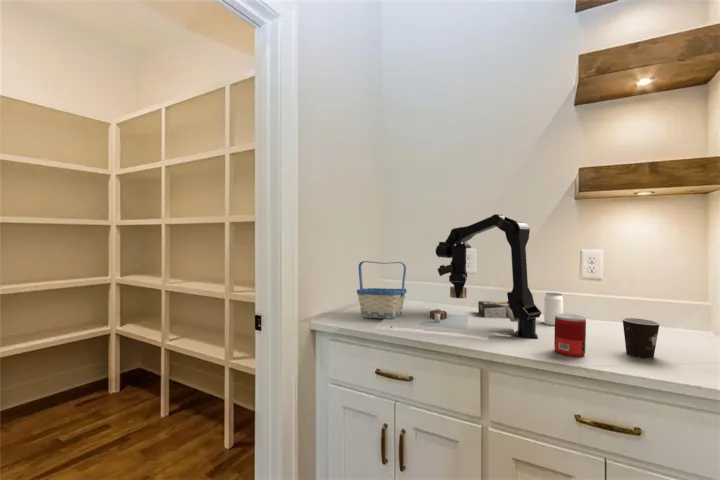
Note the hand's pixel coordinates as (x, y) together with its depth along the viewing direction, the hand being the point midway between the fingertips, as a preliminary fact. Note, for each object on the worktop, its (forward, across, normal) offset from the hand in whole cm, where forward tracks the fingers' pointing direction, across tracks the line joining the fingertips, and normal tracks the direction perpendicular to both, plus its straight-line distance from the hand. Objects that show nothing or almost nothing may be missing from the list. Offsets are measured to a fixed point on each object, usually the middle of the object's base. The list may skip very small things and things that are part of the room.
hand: (458, 296), depth 149 cm
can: (+10, -5, +36) cm, 38 cm away
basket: (+10, +9, -31) cm, 33 cm away
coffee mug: (+10, +28, +52) cm, 60 cm away
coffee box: (+6, -11, +25) cm, 28 cm away
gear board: (+9, +9, -4) cm, 13 cm away
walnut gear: (+8, +6, -7) cm, 13 cm away
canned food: (+10, +33, +34) cm, 48 cm away
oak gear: (0, 0, 0) cm, 0 cm away
